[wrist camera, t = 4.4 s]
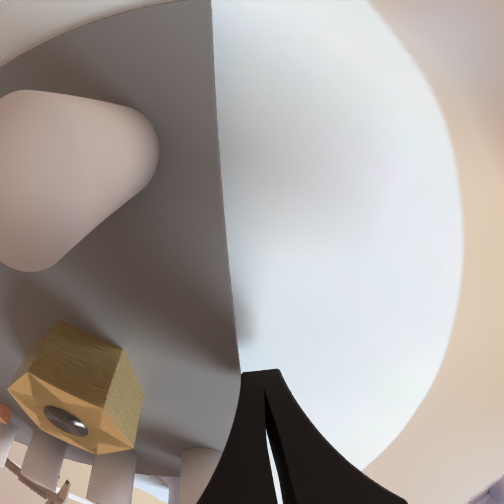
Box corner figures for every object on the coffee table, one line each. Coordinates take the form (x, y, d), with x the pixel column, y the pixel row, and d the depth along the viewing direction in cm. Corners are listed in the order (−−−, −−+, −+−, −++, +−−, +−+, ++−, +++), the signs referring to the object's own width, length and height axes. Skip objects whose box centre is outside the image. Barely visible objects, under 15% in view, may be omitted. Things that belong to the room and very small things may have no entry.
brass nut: (153, 411, 11) (145, 463, 9) (71, 402, 11) (56, 445, 8) (111, 320, 9) (83, 381, 6) (20, 318, 9) (-13, 363, 6)
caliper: (70, 479, 21) (63, 514, 15) (71, 481, 21) (64, 516, 15) (-40, 414, 16) (-53, 442, 10) (-37, 417, 16) (-50, 445, 11)
